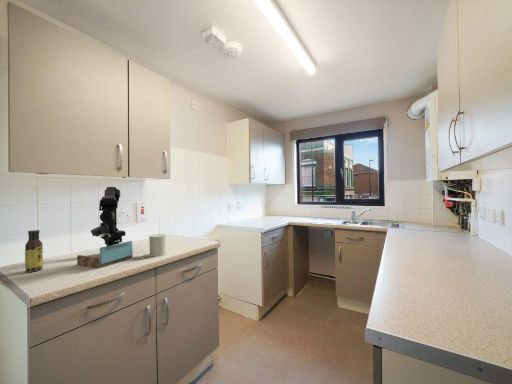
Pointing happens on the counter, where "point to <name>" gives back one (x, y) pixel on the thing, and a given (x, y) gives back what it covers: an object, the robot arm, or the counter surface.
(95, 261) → the flatbed
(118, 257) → the teal flat rectangular block
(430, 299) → the counter surface
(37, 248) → the sauce bottle
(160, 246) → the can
